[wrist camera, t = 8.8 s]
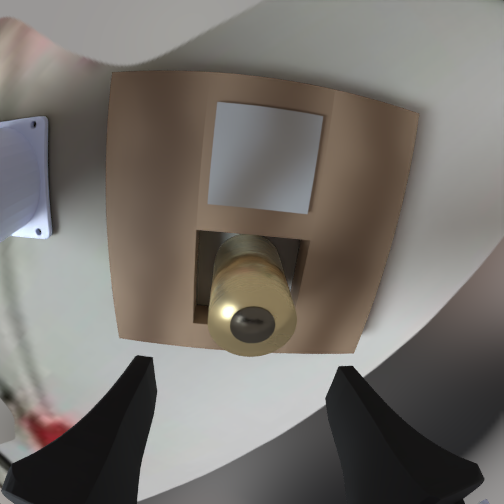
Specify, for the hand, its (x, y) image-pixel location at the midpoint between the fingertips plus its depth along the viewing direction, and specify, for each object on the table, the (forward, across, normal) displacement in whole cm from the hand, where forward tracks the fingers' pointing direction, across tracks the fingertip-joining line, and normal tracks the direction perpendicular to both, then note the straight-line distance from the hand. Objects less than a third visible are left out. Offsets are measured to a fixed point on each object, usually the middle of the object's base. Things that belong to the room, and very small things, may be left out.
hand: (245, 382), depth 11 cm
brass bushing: (+9, 0, -1) cm, 9 cm away
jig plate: (+9, 0, -3) cm, 10 cm away
